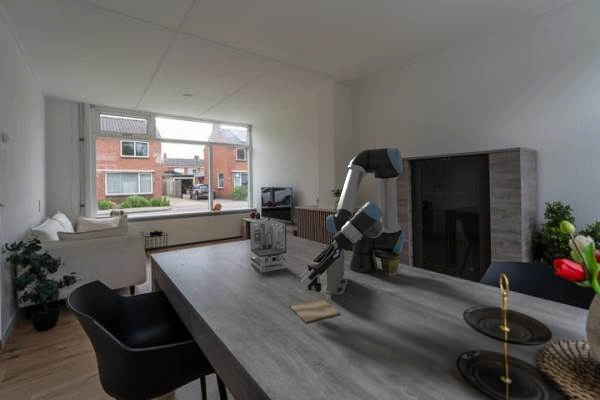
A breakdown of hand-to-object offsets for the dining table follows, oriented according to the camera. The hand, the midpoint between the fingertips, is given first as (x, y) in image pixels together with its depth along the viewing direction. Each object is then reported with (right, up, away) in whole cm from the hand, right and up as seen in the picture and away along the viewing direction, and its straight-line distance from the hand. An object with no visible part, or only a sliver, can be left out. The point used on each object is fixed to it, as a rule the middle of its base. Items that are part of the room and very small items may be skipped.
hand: (303, 281), depth 102 cm
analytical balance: (-19, -8, +56) cm, 59 cm away
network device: (+15, -10, +25) cm, 31 cm away
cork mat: (+4, -11, +1) cm, 12 cm away
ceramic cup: (+45, -8, +42) cm, 62 cm away
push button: (+4, -3, 0) cm, 5 cm away
